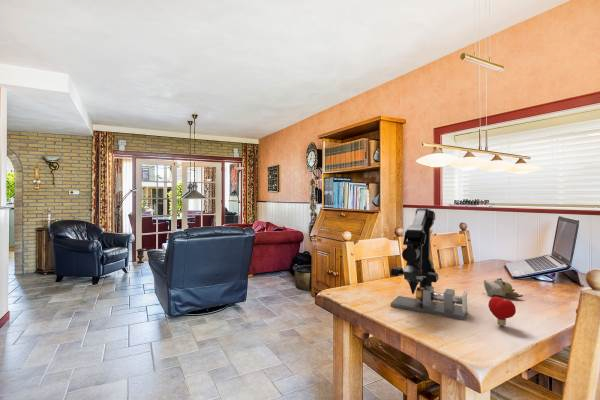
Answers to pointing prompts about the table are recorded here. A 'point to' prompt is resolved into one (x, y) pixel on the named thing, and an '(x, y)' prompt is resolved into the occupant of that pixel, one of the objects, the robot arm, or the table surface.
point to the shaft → (436, 296)
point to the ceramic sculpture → (500, 289)
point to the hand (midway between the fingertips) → (413, 294)
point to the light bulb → (501, 309)
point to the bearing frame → (434, 304)
